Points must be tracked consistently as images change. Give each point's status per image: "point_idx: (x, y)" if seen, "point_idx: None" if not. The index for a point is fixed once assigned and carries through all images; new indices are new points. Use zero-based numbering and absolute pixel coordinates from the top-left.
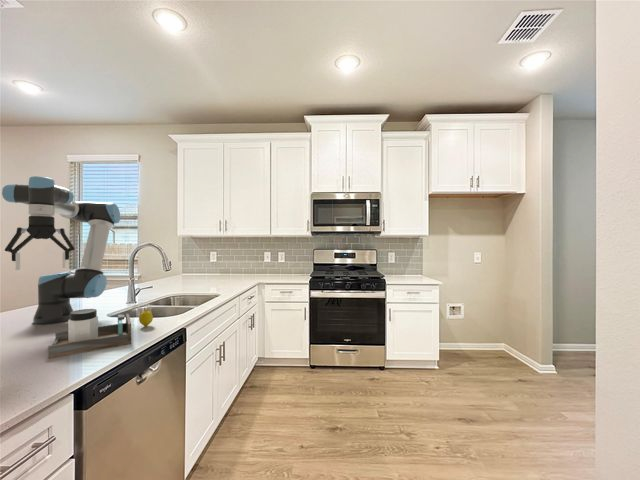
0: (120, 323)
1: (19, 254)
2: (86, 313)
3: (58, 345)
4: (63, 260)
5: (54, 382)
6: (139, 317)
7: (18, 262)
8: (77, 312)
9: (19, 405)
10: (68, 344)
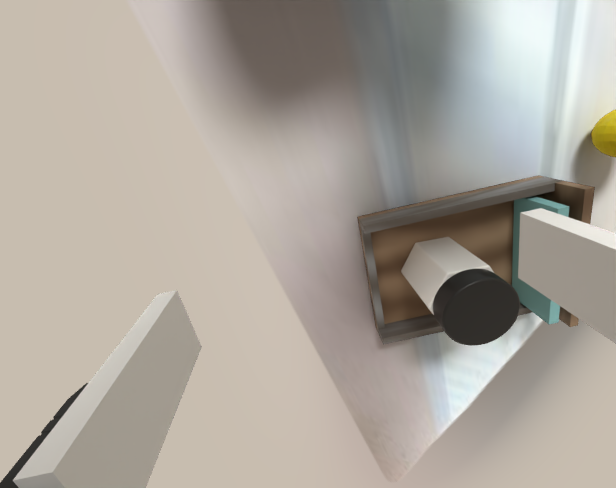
0: (552, 322)
1: (96, 467)
2: (491, 340)
3: (401, 339)
4: (599, 322)
5: (416, 425)
6: (610, 141)
7: (176, 403)
8: (465, 325)
9: (393, 468)
10: (419, 335)
